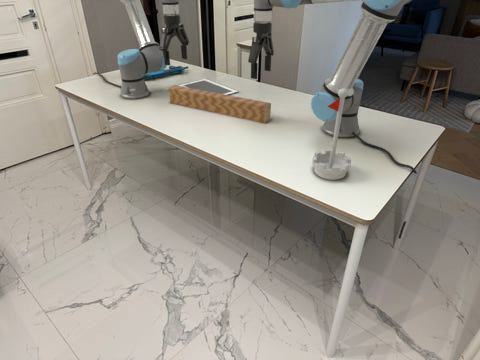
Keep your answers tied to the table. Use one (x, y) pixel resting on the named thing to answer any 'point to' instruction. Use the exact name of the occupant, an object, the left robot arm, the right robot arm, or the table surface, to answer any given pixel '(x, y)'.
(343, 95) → the flag stand
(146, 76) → the submachine gun
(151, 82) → the table surface
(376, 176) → the table surface
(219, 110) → the post
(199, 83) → the tablet
